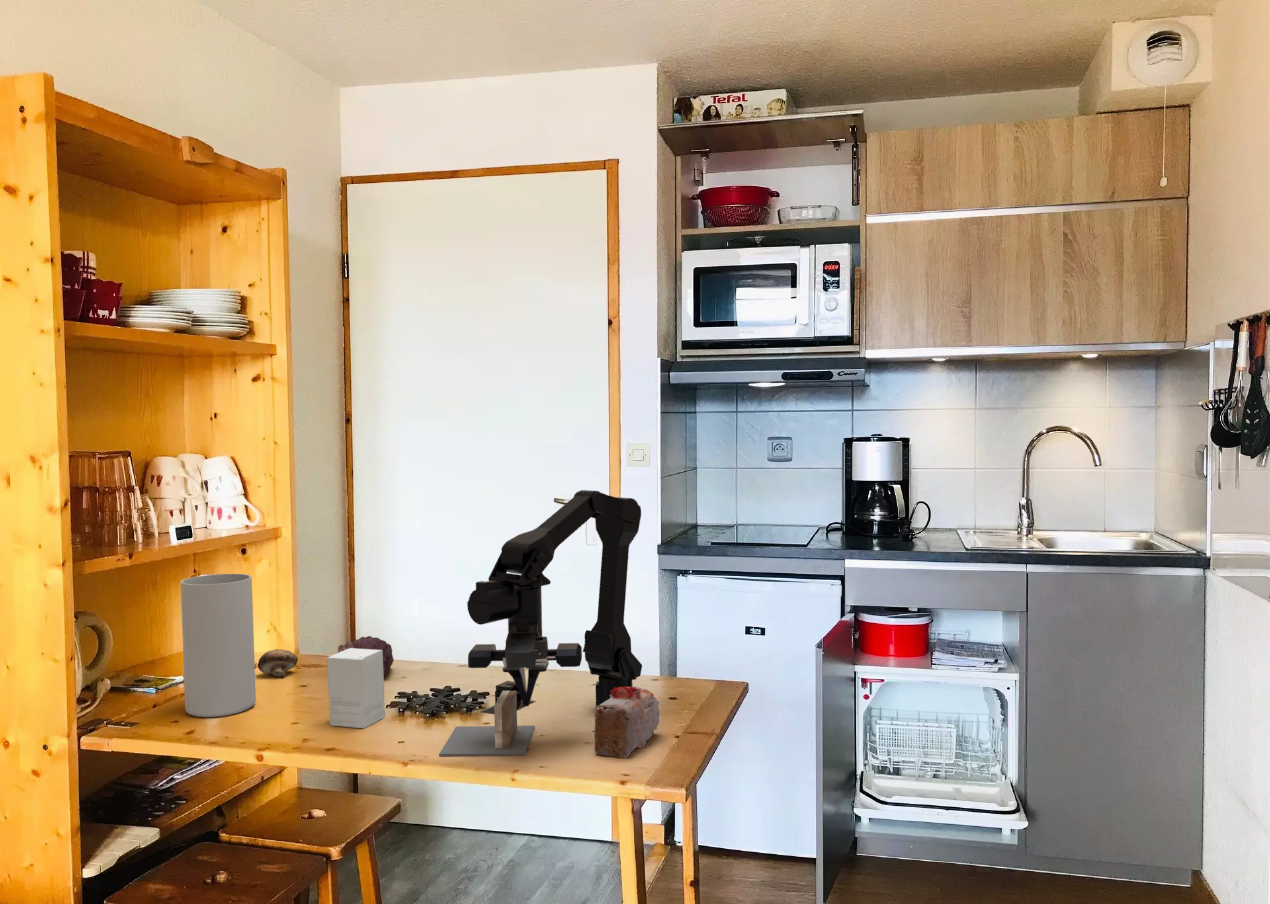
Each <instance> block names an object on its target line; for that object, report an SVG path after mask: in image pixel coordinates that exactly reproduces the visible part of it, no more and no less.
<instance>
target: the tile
mask: <svg viewBox="0 0 1270 904" xmlns="http://www.w3.org/2000/svg"><path fill="white" fill-rule="evenodd" d="M497 698H498V697H497ZM494 705H495V706H494V714H493V715H494V717H493V719H494V726H495V748H510V746H511V744H512V741H513V739H514V737H515V734H516V732H517V726H518V711H517V696H516V691H502V693H501V695H500V697H499V698H498V700H497V702H496V704H495V703H494Z"/></svg>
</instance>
